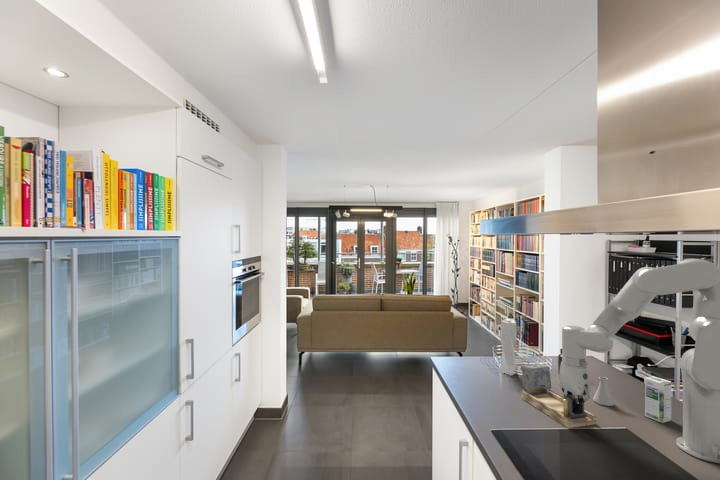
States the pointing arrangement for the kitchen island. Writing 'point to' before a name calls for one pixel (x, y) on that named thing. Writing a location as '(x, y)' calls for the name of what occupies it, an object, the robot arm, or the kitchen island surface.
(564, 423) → the wooden tray
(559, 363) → the supplement bottle
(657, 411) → the syrup box
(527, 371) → the grey stone block
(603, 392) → the flask
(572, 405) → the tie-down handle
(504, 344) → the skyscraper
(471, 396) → the kitchen island surface
